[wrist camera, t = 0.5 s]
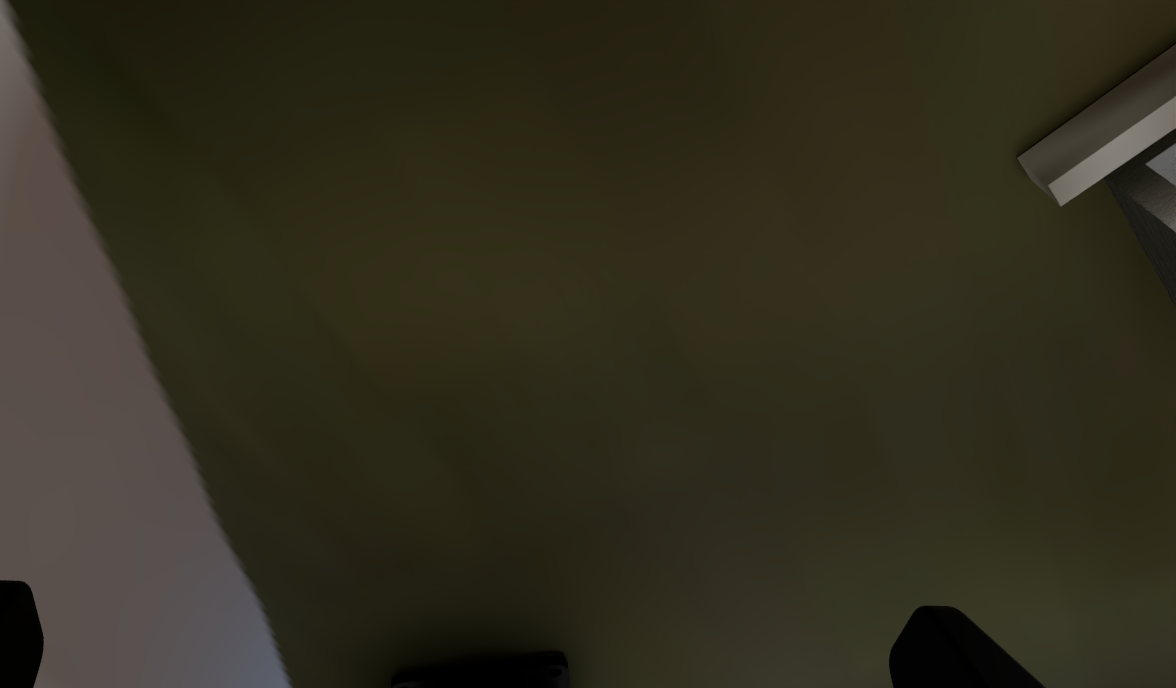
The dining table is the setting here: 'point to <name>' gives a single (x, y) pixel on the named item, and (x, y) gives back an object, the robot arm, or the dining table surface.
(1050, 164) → the trap lane
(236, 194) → the dining table surface
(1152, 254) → the bookend
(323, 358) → the dining table surface
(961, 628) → the robot arm
